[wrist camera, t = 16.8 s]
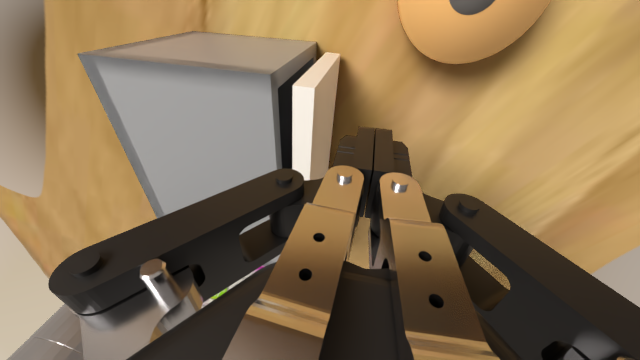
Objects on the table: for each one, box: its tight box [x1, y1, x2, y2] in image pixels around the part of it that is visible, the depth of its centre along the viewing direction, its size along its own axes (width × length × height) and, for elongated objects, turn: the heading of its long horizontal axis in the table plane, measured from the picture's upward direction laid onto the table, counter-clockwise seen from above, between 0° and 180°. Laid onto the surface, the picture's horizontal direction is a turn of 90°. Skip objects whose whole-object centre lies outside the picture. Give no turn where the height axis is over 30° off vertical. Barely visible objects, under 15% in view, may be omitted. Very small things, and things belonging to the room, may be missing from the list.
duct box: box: [78, 31, 317, 266], centre depth 19 cm, size 10×14×9 cm
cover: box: [292, 52, 340, 180], centre depth 19 cm, size 15×1×8 cm, turn 176°
